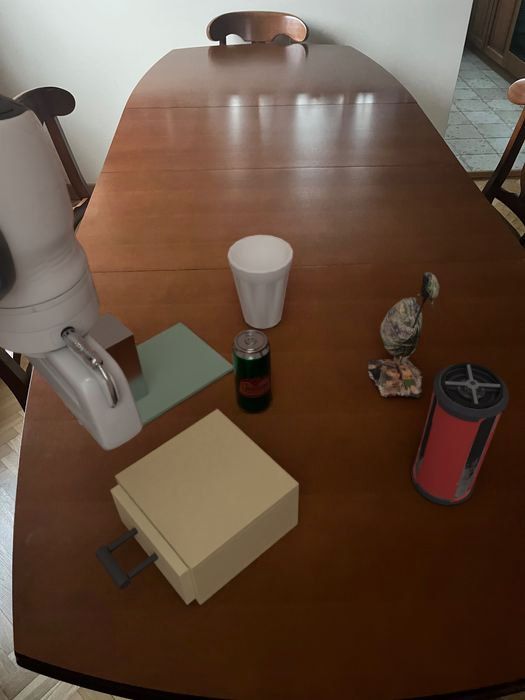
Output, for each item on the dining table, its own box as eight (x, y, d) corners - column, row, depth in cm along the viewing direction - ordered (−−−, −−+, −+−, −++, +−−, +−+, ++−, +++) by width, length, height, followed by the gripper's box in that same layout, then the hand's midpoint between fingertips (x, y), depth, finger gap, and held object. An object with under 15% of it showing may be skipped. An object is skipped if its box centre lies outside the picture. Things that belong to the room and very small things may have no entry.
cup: (296, 336, 95) (297, 269, 86) (233, 340, 94) (228, 274, 85) (289, 297, 102) (289, 232, 93) (231, 300, 101) (226, 236, 92)
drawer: (148, 637, 61) (137, 609, 56) (85, 546, 68) (70, 516, 64) (280, 528, 69) (280, 496, 65) (211, 458, 77) (206, 425, 72)
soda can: (240, 418, 83) (234, 357, 74) (233, 391, 86) (228, 331, 78) (275, 411, 83) (274, 350, 75) (267, 385, 87) (265, 325, 79)
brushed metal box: (121, 410, 84) (103, 350, 75) (99, 387, 87) (80, 327, 79) (148, 394, 86) (133, 333, 77) (126, 372, 89) (110, 311, 81)
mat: (120, 440, 80) (119, 437, 80) (71, 384, 88) (70, 382, 88) (234, 369, 90) (234, 366, 89) (180, 324, 97) (180, 321, 97)
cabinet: (200, 605, 64) (191, 568, 58) (129, 515, 72) (114, 475, 66) (298, 523, 71) (299, 483, 65) (222, 450, 79) (217, 408, 73)
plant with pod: (421, 350, 91) (445, 241, 78) (423, 405, 83) (450, 294, 70) (368, 345, 93) (382, 236, 79) (365, 399, 85) (380, 288, 71)
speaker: (408, 453, 78) (431, 355, 65) (468, 457, 77) (503, 359, 64) (413, 504, 72) (439, 408, 60) (477, 509, 71) (518, 413, 59)
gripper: (145, 349, 43) (171, 461, 52) (22, 235, 54) (62, 344, 64) (66, 393, 40) (109, 503, 49) (-46, 263, 51) (7, 373, 61)
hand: (82, 413), depth 56 cm, fingers closed
